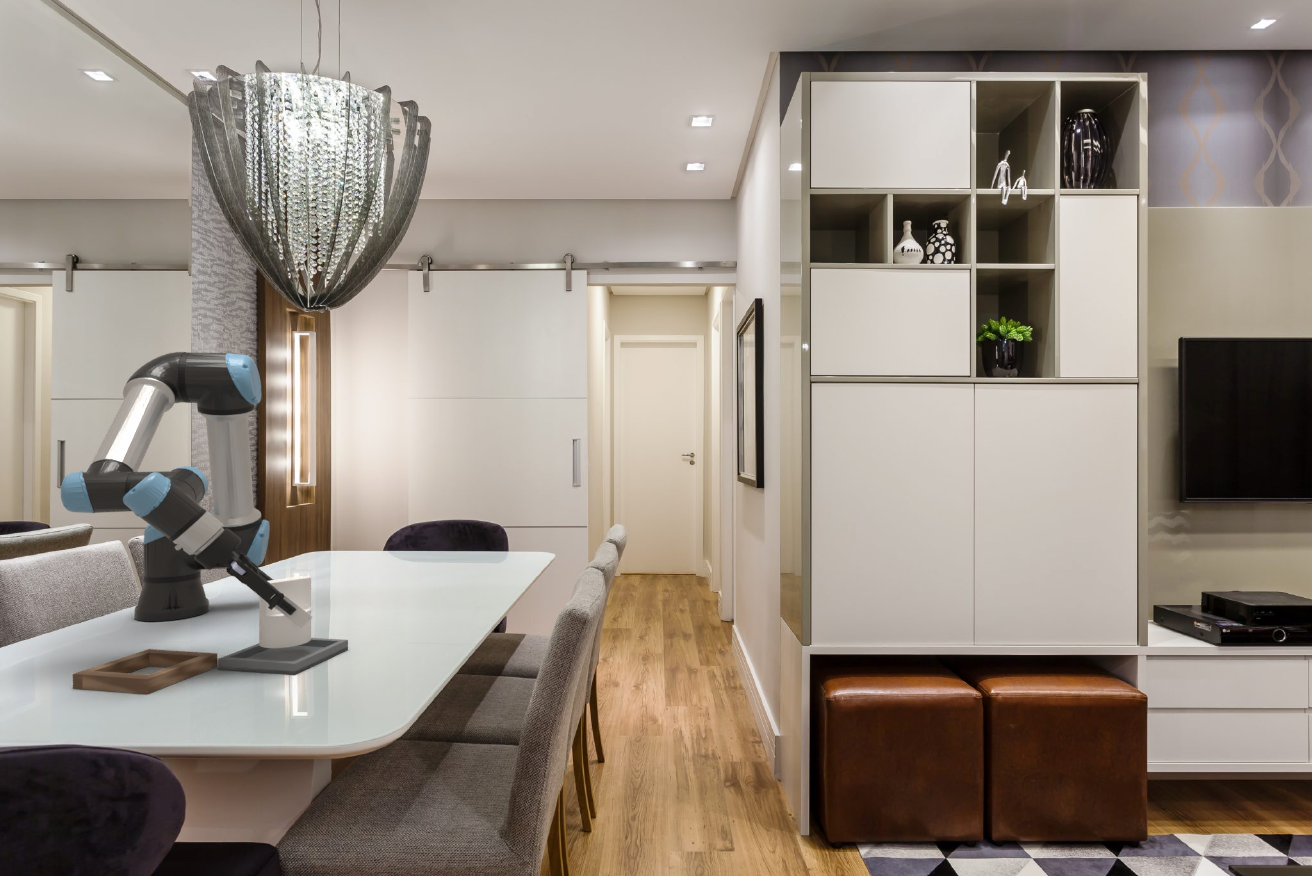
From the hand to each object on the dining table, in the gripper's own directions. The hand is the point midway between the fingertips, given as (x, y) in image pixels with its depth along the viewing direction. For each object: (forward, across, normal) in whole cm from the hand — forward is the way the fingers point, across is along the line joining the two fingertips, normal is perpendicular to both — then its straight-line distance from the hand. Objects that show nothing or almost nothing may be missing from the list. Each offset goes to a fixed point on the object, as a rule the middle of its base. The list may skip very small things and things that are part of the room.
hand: (303, 617), depth 142 cm
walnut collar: (-12, -1, -23) cm, 26 cm away
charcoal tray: (+3, 0, -8) cm, 8 cm away
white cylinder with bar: (+1, 0, -6) cm, 6 cm away
